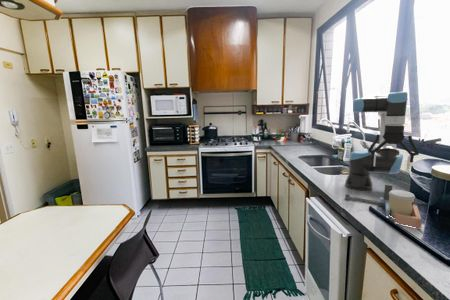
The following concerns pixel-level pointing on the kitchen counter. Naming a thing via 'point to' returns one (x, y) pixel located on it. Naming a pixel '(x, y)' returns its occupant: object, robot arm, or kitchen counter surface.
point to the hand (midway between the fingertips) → (390, 167)
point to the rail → (363, 200)
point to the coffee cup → (400, 202)
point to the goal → (410, 218)
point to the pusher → (386, 197)
